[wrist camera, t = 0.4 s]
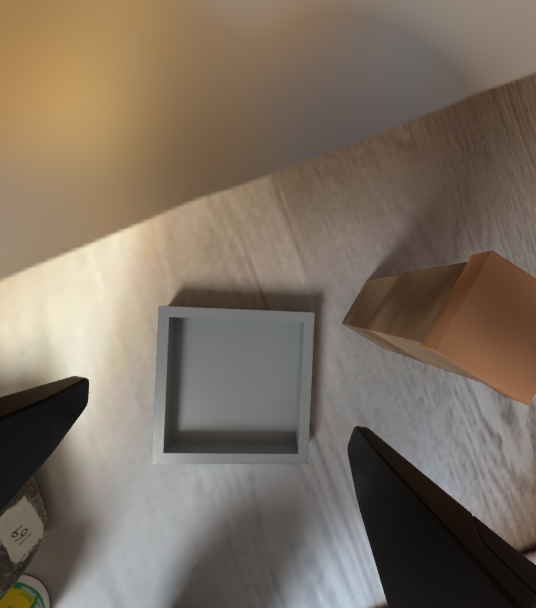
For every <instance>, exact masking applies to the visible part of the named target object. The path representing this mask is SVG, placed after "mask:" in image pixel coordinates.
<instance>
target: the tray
mask: <svg viewBox="0 0 536 608" xmlns="http://www.w3.org/2000/svg"><path fill="white" fill-rule="evenodd" d="M314 317H315V313H314V312H306V311H283V310H259V309H235V308H212V307H188V306H159V311H158V335H157V359H156V383H155V407H154V431H153V456H152V464H308V448H309V426H310V404H311V383H312V361H313V339H314Z"/></svg>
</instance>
